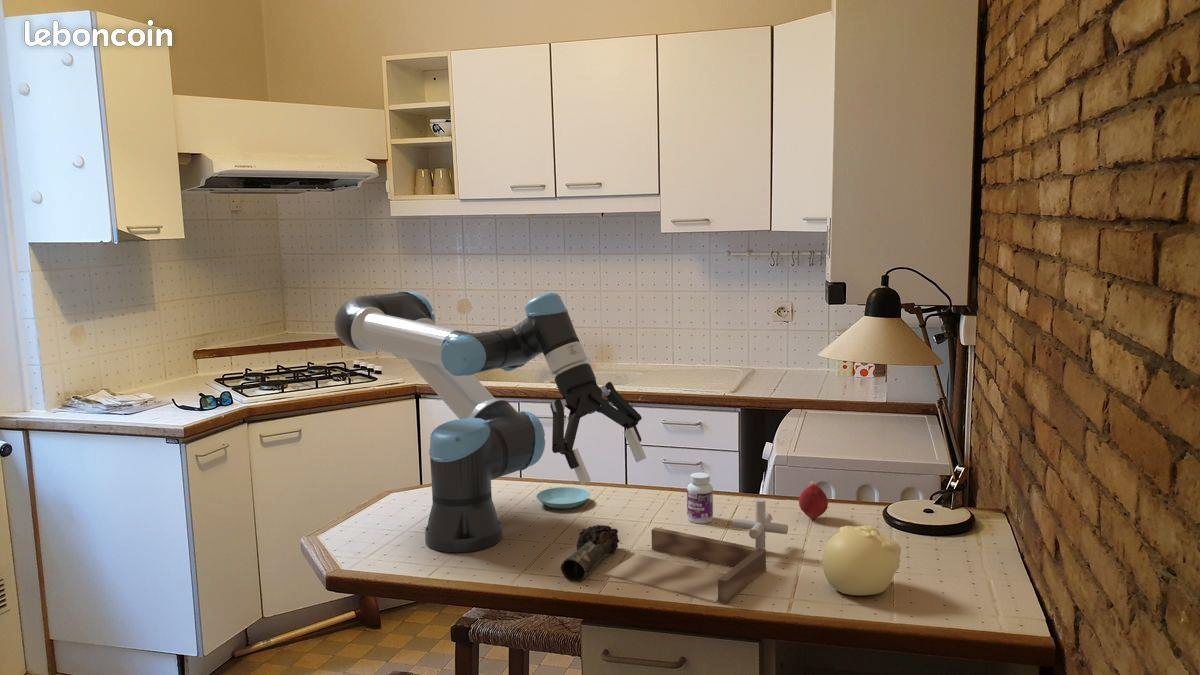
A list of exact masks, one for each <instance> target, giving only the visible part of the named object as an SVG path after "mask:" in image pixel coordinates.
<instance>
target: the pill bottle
mask: <svg viewBox="0 0 1200 675" xmlns="http://www.w3.org/2000/svg"><path fill="white" fill-rule="evenodd" d="M689 481H690V483H689V484H688V485H687V487H686V518H687V520H688V521H690V522H691V523H694V524H706V523H707V524H708V523H710V522H711V521H713V517H714V516H713V514H714V511H713V510H714V488H713V486H712V484H710V481H711V476H710V474H708V473H706V472H693V473H691V474H690V480H689Z"/></svg>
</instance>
